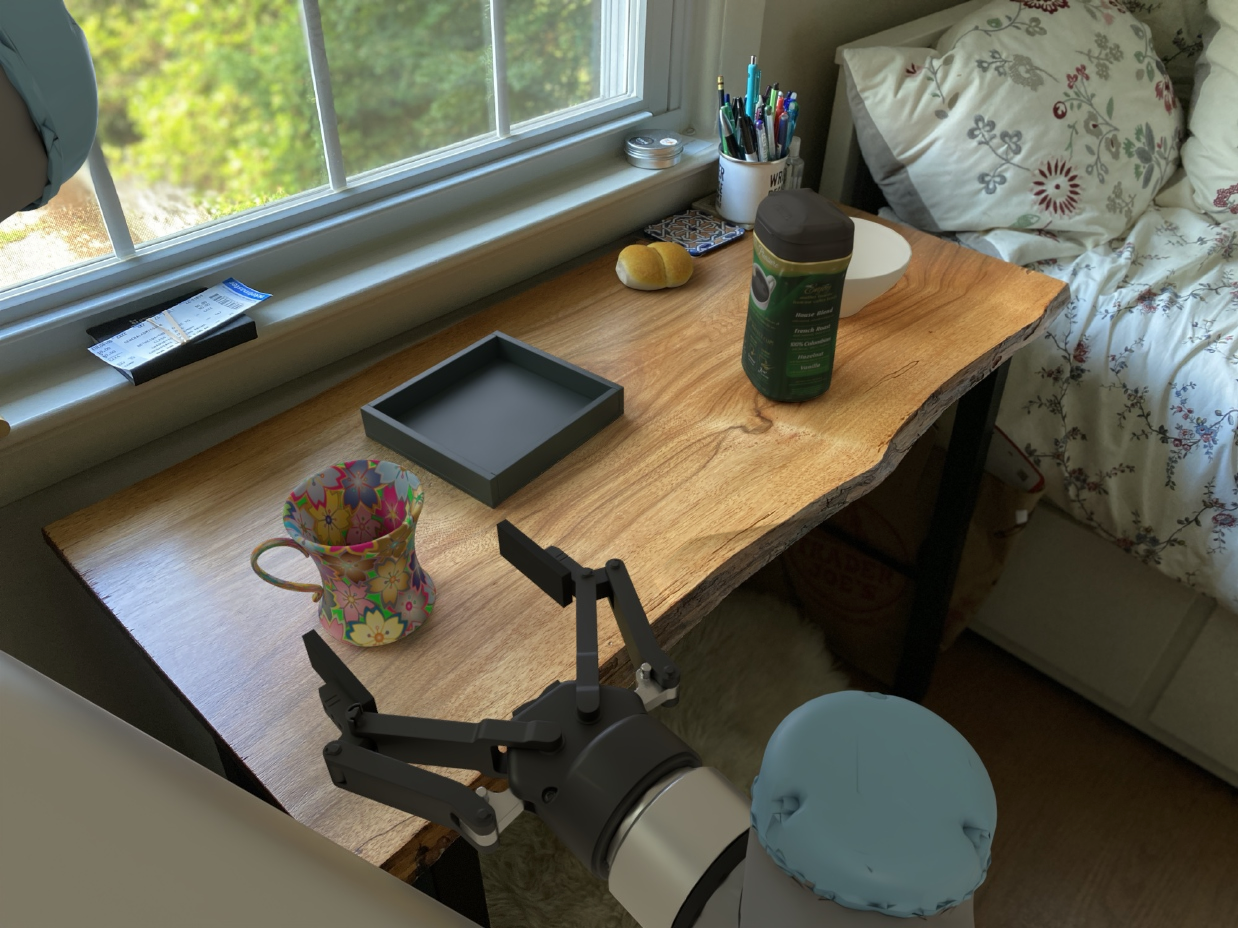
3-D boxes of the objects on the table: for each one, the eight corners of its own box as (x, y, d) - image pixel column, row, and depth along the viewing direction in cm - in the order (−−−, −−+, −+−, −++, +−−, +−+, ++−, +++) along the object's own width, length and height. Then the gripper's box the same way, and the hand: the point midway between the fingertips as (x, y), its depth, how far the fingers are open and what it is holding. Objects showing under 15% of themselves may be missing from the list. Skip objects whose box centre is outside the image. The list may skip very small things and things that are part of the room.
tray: (493, 509, 78) (489, 480, 76) (365, 435, 86) (359, 407, 84) (624, 413, 89) (624, 386, 87) (499, 356, 97) (497, 330, 95)
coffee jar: (841, 399, 90) (873, 218, 79) (765, 411, 89) (786, 228, 77) (802, 349, 98) (826, 176, 86) (730, 359, 96) (745, 185, 85)
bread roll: (703, 285, 109) (705, 254, 106) (630, 297, 107) (630, 265, 104) (677, 255, 115) (678, 225, 112) (608, 266, 113) (607, 235, 110)
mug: (422, 551, 74) (402, 445, 67) (459, 631, 67) (441, 522, 61) (267, 600, 70) (230, 492, 63) (290, 690, 63) (251, 580, 57)
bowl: (768, 263, 113) (774, 208, 109) (903, 279, 110) (914, 223, 105) (746, 327, 101) (751, 268, 97) (897, 347, 98) (910, 287, 93)
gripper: (451, 1051, 40) (235, 744, 53) (810, 722, 54) (571, 538, 66) (427, 975, 36) (197, 658, 48) (828, 635, 49) (567, 454, 61)
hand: (413, 588), depth 57 cm, fingers open, 13 cm apart
